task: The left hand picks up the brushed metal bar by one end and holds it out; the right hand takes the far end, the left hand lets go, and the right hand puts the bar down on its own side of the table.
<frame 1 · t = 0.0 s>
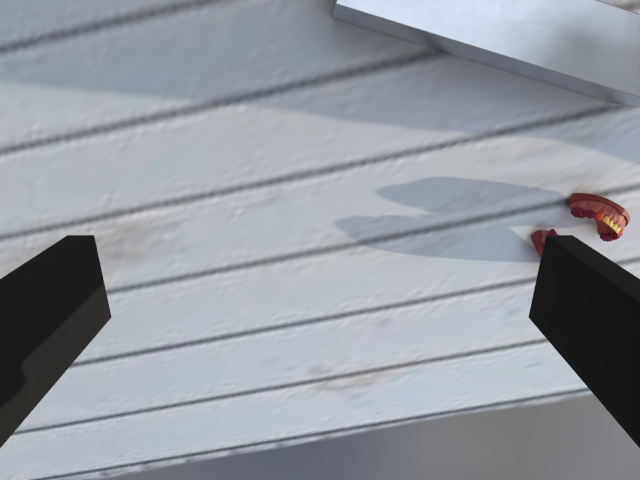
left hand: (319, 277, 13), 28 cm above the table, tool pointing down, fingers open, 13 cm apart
dental model: (569, 229, 42), on the table
bar: (488, 33, 35), on the table
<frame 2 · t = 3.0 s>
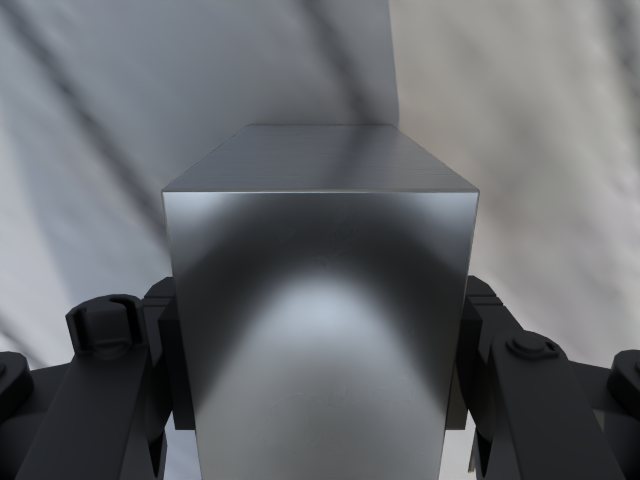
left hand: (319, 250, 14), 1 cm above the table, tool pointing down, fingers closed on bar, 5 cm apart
bar: (320, 432, 18), on the table, touching left hand
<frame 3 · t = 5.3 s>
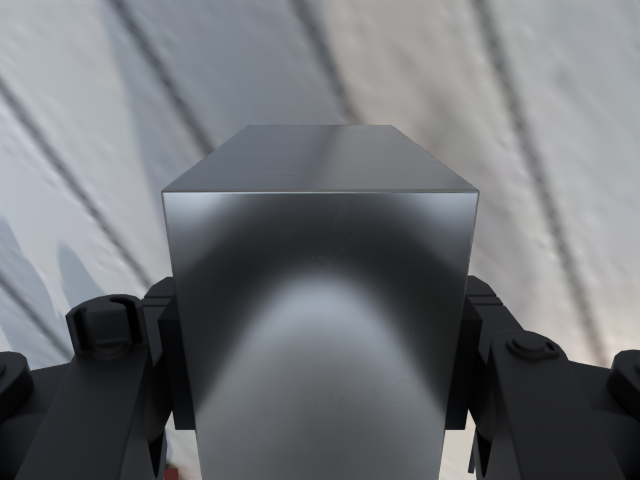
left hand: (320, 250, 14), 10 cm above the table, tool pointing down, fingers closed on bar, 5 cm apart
bar: (320, 432, 18), point 10 cm above the table, touching left hand
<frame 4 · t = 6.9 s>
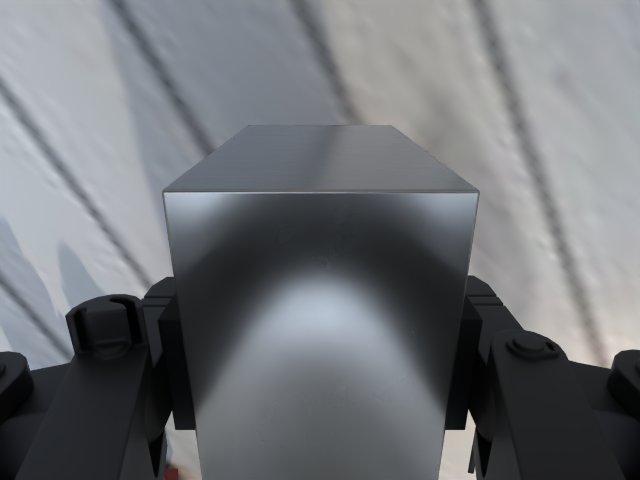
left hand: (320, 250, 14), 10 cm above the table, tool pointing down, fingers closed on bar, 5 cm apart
bar: (319, 432, 18), point 10 cm above the table, touching left hand, right hand
when the left hand's fingers open (10 cm above the table, at t = 7.8 s): bar stays where it is, held by the right hand.
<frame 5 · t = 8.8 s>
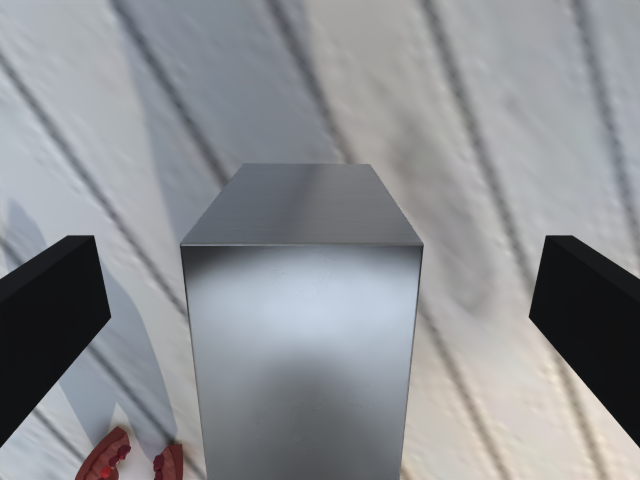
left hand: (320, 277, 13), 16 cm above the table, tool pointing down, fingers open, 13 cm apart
dental model: (143, 456, 36), on the table
bar: (307, 435, 20), point 12 cm above the table, touching right hand
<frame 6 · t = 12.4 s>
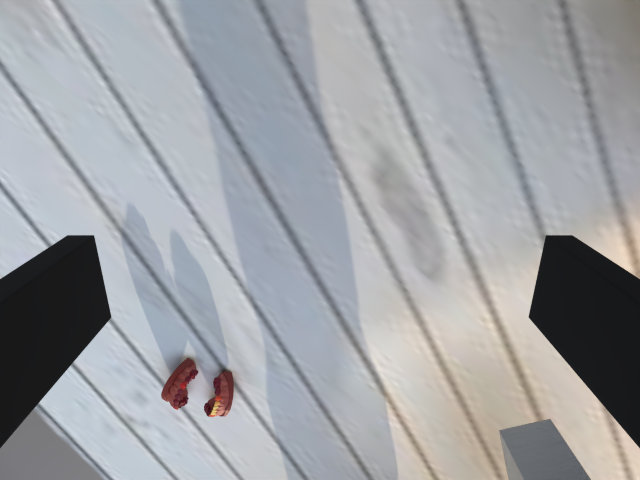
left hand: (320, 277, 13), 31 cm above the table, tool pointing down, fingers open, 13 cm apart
dental model: (204, 380, 52), on the table
when the right hand's fingers open (5 cm above the table, at t = 17.8 s): bar stays where it is, on the table.
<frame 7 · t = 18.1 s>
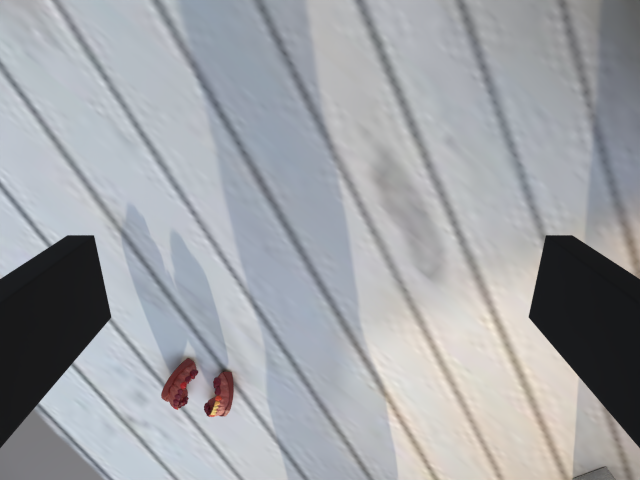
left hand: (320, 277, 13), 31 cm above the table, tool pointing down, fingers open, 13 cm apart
dental model: (204, 380, 52), on the table
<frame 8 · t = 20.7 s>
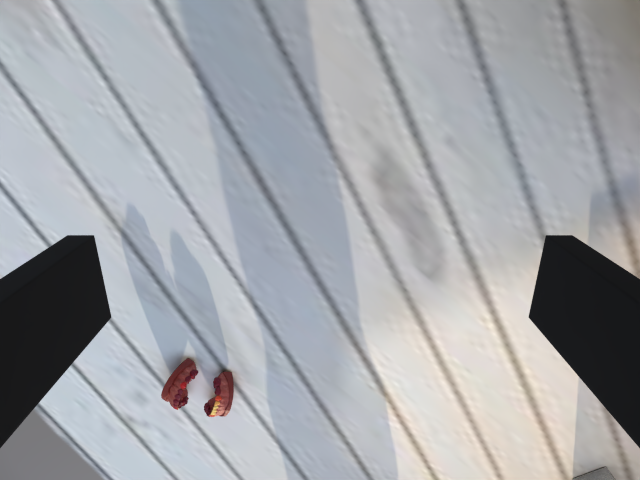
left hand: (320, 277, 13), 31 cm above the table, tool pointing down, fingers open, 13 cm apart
dental model: (204, 380, 52), on the table
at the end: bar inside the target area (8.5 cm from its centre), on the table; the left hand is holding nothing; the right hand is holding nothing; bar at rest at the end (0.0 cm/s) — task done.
